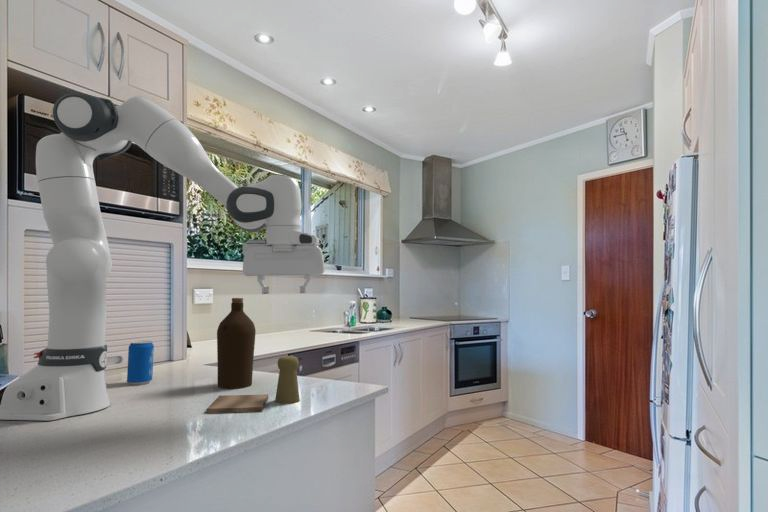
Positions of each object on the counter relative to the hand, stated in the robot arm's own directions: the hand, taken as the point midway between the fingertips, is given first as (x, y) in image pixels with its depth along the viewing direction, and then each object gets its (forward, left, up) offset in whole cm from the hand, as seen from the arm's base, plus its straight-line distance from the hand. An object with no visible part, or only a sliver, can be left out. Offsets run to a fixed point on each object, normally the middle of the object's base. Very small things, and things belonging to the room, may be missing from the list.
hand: (284, 293), depth 111 cm
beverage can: (-43, +26, -27) cm, 57 cm away
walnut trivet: (-10, -3, -27) cm, 29 cm away
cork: (+1, 0, -27) cm, 27 cm away
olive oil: (-15, +20, -27) cm, 37 cm away
